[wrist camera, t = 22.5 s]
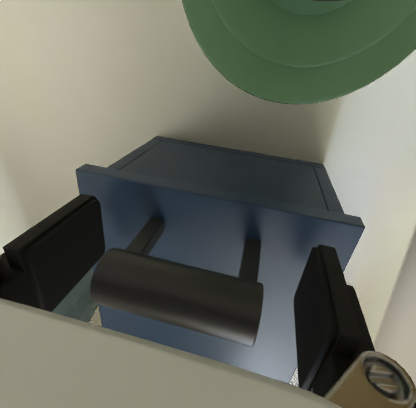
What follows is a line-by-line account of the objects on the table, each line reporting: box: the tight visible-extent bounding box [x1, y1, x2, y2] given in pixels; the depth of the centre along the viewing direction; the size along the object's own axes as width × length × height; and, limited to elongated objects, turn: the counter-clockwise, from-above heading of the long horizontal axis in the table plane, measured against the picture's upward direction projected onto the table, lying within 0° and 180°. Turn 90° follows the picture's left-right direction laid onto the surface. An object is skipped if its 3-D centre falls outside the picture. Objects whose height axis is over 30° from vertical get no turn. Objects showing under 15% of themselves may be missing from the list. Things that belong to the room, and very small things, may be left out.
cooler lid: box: [76, 164, 365, 384], centre depth 14 cm, size 18×13×5 cm
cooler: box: [107, 136, 344, 214], centre depth 21 cm, size 18×13×8 cm
